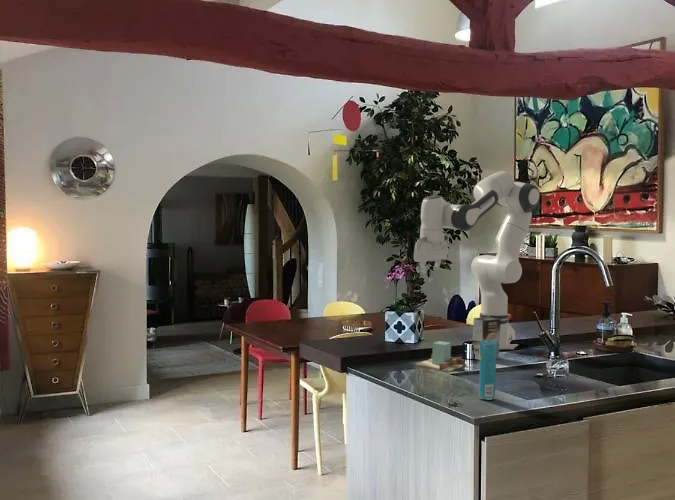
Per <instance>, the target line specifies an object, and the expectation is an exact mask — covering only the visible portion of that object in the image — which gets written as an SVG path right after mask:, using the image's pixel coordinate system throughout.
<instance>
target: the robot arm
mask: <svg viewBox="0 0 675 500" xmlns="http://www.w3.org/2000/svg"><path fill="white" fill-rule="evenodd" d="M473 198H474V199H475V201H474V202H472V203H471V204H452V203H450V202H448V201H446V200H445V199H444V198H443V196H442V195H438V194H437V195H429V196H425V197H423V200H422V202H421V205H420V206H421V207H420V221H421V224H420V228H419V229H420V231H419V233H420V234H419V238H418V239H417V241H416V242H415V244H414V250H413V260H414V262H417V263H419V267H420V272H421V274H427V271H428V268H427V267H426V265H427V262H433V261H434V262H435V263H434V266H433V270H432V271H433V272H439V271H440V266H441V264H442V260H447V258H448V250H449V247H448V245H449V244H448V242H449V241H450V239H449V235H448V234H446V233H445V232H444V229H450V230H460V231H470V230H472V229H473V228H474V227H475V226H476V224H477V223H478V221H479V220H480V219H482V217H483V216H484V215H485V214H487V213H488V212H490V210H492V209H493V208H494V207H495V206H496V205H498V206H500V207H506V208H508V212H507V214H506V215H505V218H504V219H503V221H502V223H501V225H500V228H499V230H498V233H497V235H496V236H495V239H494V240H495V241H494V242H495V244H496V246H497V252H496V255H492V254H491V255H490V254H483V255H482V254H481V255H478V256H475V257H474V258H473V260H471V261H472V262H471V265H470V269H471V273H472V275H473V276H474V277H475V279H476V281H477V283H478V287H479V291H480V312H479V316H478V318H483V317H492V318H498V319H501V324H500V342H499V350H515V348H516V347H518V346H519V345H518V344H510V342H511V341H512V339H514V338H515V339H516V330H515V329H514V328H513V327H512V326H511V324H510V321H509V320H510V319H511V318H512V314H511V313H508V298H509V297H508V295H507V293H506V292H505V291H504V289H503V287H502V284H513V283H516V282H517V283H518V281H519V280H520V279H521V277H522V274H523V267H522V264H521V262H520V259H519V257H520V251H521V247H522V245H523V242H524V240H525V237H526V235H527V234H528V230H529V228H530V225H531V222H532V218H533V214H532V213H533V210H535V208H536V207H537V206H538V203H539V202H540V198H541V193H540V189H539V187H538V186H536V185H535V184H532V183H529V182H526V183H525V182H521V181H515V180H514V177H513V176H512V174H510V173H509V172H507V171H503V170H500V171H497V172H495V173H492V174H490V175H488V176H486V177H485V178H482V179H481V180H480V181H478V182H477V183H476V184H475V185H474V187H473Z"/></svg>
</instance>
